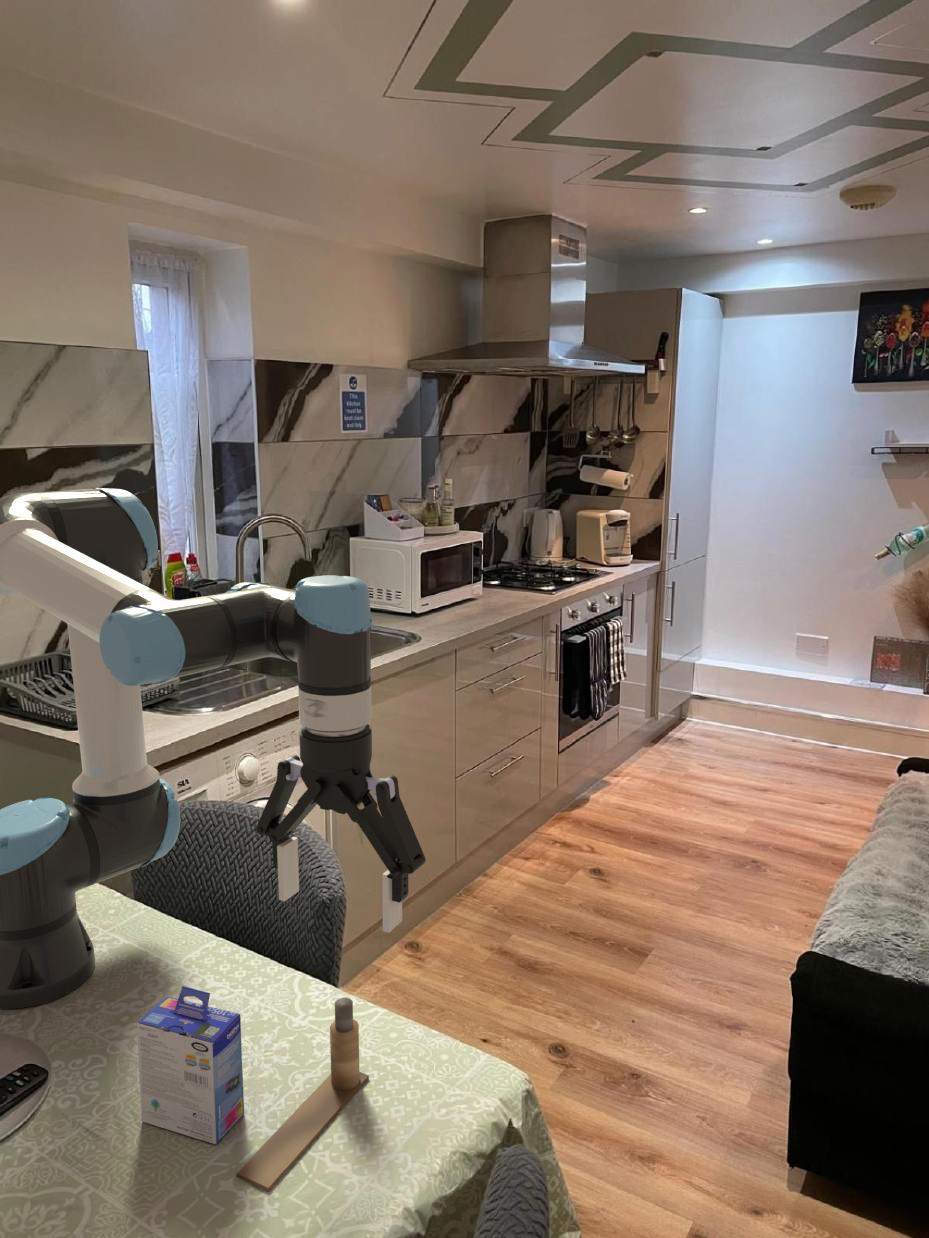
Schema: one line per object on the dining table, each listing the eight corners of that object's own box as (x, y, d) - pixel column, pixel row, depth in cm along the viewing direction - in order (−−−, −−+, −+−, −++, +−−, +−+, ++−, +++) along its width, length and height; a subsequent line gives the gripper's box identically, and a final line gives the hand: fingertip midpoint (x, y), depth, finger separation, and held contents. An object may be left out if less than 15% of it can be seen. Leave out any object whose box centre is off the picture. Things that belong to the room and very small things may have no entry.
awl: (325, 1085, 105) (323, 1006, 102) (341, 1067, 107) (339, 991, 105) (349, 1094, 103) (347, 1015, 101) (365, 1076, 106) (363, 999, 104)
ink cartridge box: (248, 1111, 101) (242, 992, 98) (218, 1147, 96) (211, 1024, 93) (172, 1089, 104) (164, 974, 101) (140, 1123, 99) (131, 1003, 96)
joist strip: (236, 1176, 92) (236, 1172, 92) (339, 1067, 108) (339, 1064, 108) (268, 1191, 91) (268, 1187, 91) (368, 1078, 106) (368, 1075, 106)
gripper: (218, 716, 99) (227, 898, 103) (421, 756, 88) (421, 957, 92) (263, 698, 105) (270, 869, 110) (458, 733, 94) (456, 922, 99)
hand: (339, 910), depth 101 cm, fingers open, 13 cm apart
